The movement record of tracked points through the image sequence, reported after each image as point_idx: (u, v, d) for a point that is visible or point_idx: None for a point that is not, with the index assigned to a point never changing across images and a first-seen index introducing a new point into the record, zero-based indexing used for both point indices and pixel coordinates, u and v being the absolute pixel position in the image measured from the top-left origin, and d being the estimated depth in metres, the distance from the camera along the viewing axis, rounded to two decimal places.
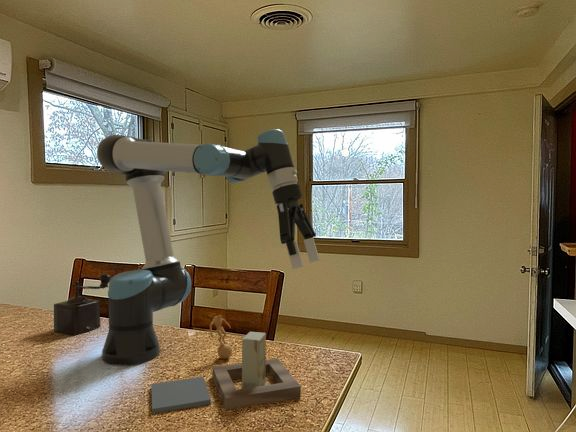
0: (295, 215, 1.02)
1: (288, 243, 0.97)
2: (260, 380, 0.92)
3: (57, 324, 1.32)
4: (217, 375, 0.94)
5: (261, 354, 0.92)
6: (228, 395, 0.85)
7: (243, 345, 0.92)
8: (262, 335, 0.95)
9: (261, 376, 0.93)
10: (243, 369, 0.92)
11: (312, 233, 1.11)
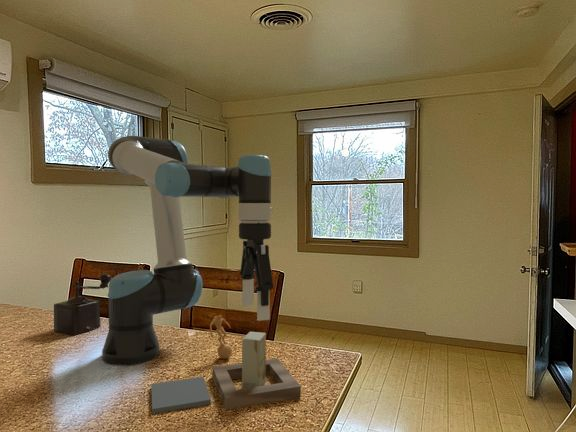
0: None
1: (264, 292, 0.86)
2: (260, 380, 0.92)
3: (57, 324, 1.32)
4: (217, 375, 0.94)
5: (261, 354, 0.92)
6: (228, 395, 0.85)
7: (243, 345, 0.92)
8: (262, 335, 0.95)
9: (261, 376, 0.93)
10: (243, 369, 0.92)
11: None
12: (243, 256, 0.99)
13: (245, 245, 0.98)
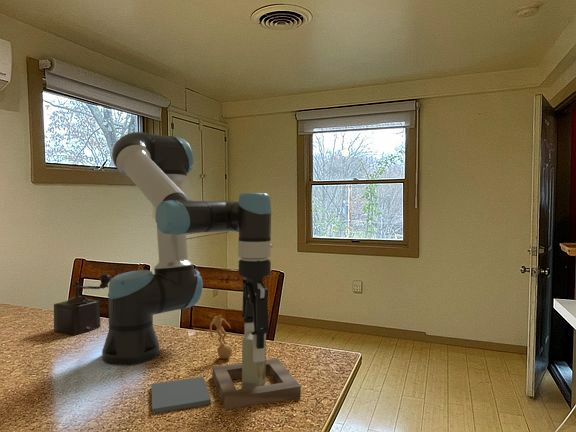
0: None
1: (260, 335, 0.89)
2: (260, 380, 0.92)
3: (57, 324, 1.32)
4: (217, 375, 0.94)
5: None
6: (228, 395, 0.85)
7: (243, 345, 0.91)
8: None
9: (261, 376, 0.93)
10: (243, 369, 0.92)
11: None
12: (244, 295, 0.98)
13: (245, 283, 0.98)
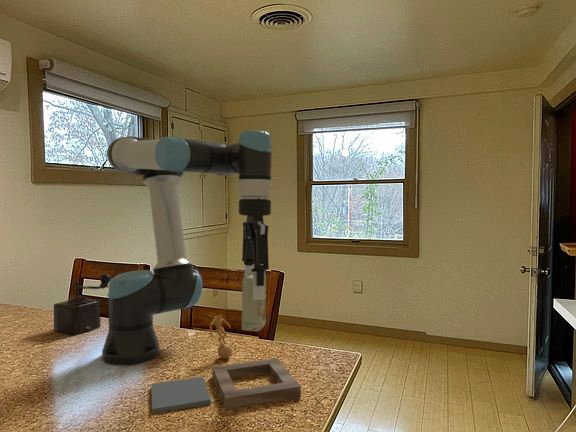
0: None
1: (260, 273, 0.88)
2: (260, 319, 0.91)
3: (57, 324, 1.32)
4: (217, 375, 0.94)
5: None
6: (228, 395, 0.85)
7: (243, 284, 0.91)
8: None
9: (261, 316, 0.92)
10: (243, 308, 0.91)
11: (253, 260, 0.99)
12: (244, 238, 0.98)
13: (245, 226, 0.98)
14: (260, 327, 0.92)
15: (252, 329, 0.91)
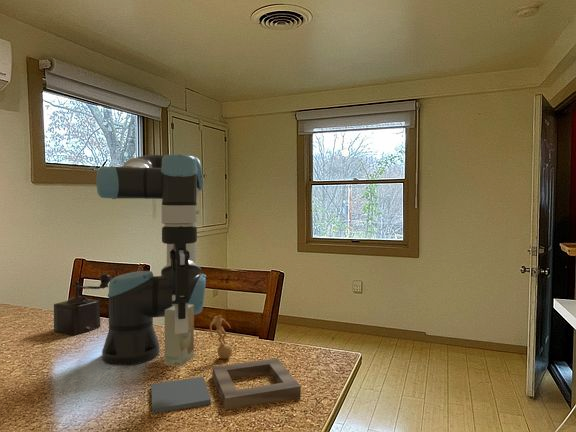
0: (188, 266, 0.87)
1: (181, 305, 0.83)
2: (184, 353, 0.86)
3: (57, 324, 1.32)
4: (217, 375, 0.94)
5: None
6: (228, 395, 0.85)
7: (165, 316, 0.86)
8: (188, 306, 0.89)
9: (185, 349, 0.87)
10: (165, 342, 0.86)
11: None
12: None
13: None
14: (184, 361, 0.87)
15: (175, 364, 0.86)
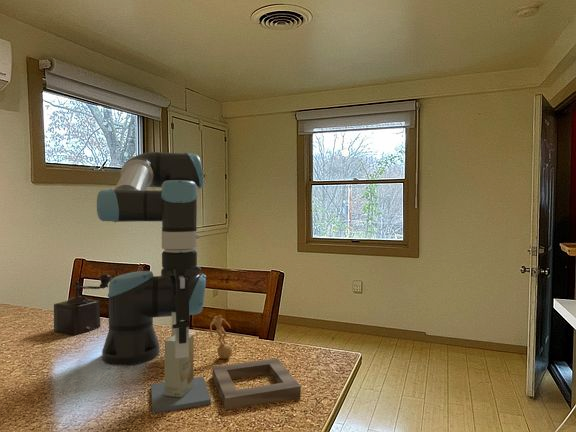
0: (188, 290, 0.87)
1: (181, 329, 0.82)
2: (184, 384, 0.87)
3: (57, 324, 1.32)
4: (217, 375, 0.94)
5: (185, 357, 0.88)
6: (228, 395, 0.85)
7: (165, 347, 0.87)
8: None
9: (185, 380, 0.88)
10: (165, 372, 0.87)
11: None
12: None
13: (173, 274, 0.94)
14: (184, 392, 0.87)
15: (175, 395, 0.87)
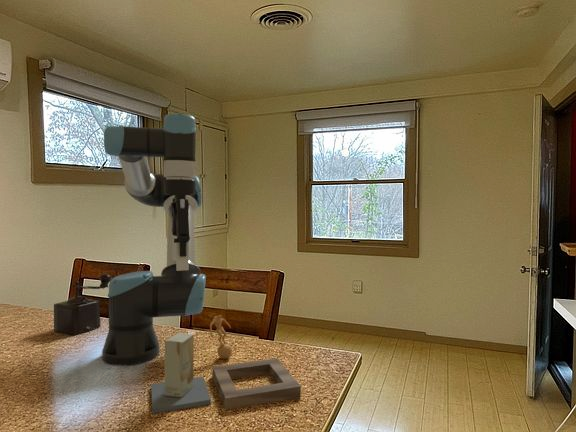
0: (188, 213, 0.95)
1: (182, 243, 0.90)
2: (184, 384, 0.87)
3: (57, 324, 1.32)
4: (217, 375, 0.94)
5: (185, 357, 0.88)
6: (228, 395, 0.85)
7: (165, 347, 0.87)
8: (188, 337, 0.90)
9: (185, 380, 0.88)
10: (165, 372, 0.87)
11: None
12: None
13: (174, 202, 1.03)
14: (184, 392, 0.87)
15: (175, 395, 0.87)
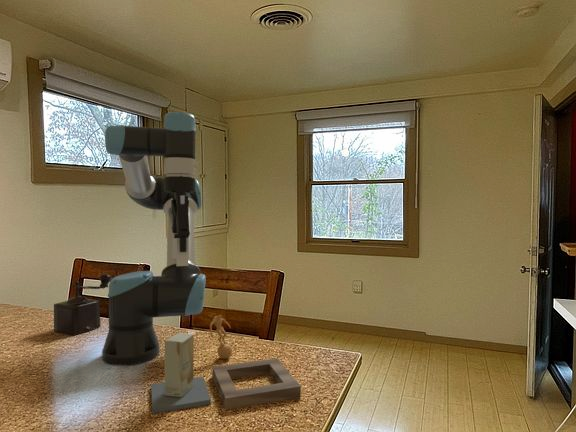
0: (188, 210, 0.97)
1: (182, 239, 0.91)
2: (184, 384, 0.87)
3: (57, 324, 1.32)
4: (217, 375, 0.94)
5: (185, 357, 0.88)
6: (228, 395, 0.85)
7: (165, 347, 0.87)
8: (188, 337, 0.90)
9: (185, 380, 0.88)
10: (165, 372, 0.87)
11: None
12: None
13: None
14: (184, 392, 0.87)
15: (175, 395, 0.87)
